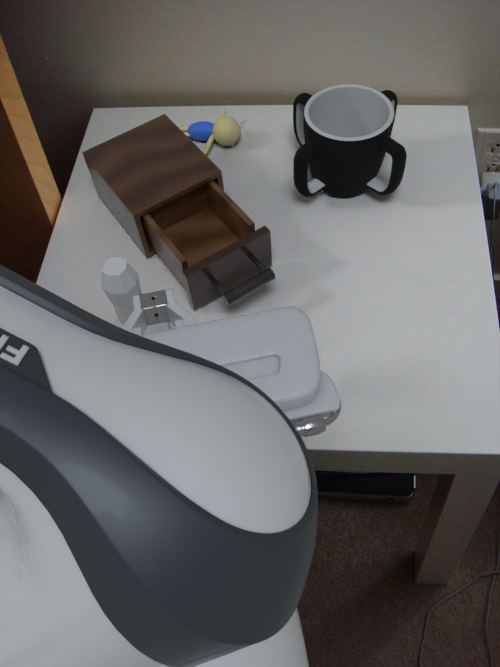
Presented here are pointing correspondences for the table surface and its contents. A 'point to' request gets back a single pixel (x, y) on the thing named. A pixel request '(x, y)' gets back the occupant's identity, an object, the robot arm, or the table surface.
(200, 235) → the drawer
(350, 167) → the mug
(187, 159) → the cabinet
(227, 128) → the toy figure
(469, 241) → the table surface
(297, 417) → the robot arm
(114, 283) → the faceted bottle
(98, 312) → the table surface
